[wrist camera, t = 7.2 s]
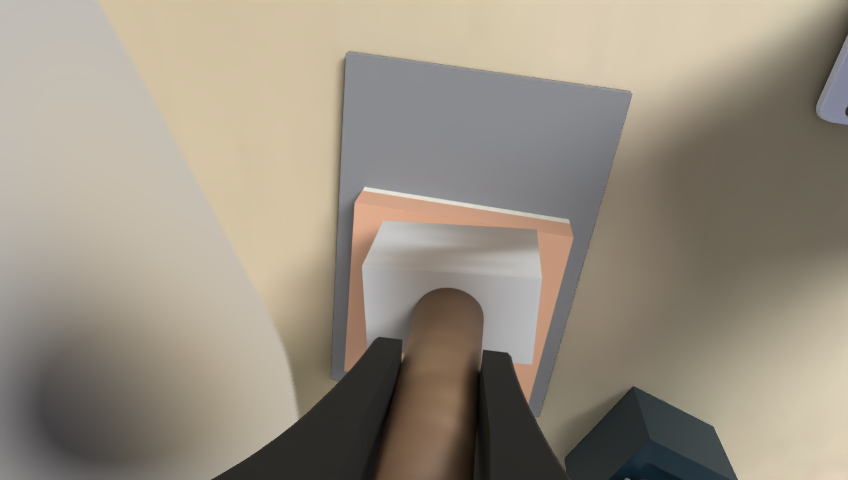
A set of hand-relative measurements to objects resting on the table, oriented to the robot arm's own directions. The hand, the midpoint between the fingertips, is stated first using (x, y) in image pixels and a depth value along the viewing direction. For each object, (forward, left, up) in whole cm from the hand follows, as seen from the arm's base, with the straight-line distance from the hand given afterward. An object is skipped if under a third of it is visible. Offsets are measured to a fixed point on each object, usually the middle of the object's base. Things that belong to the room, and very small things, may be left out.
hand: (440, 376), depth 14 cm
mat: (0, +2, -9) cm, 9 cm away
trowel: (0, 0, -5) cm, 5 cm away
